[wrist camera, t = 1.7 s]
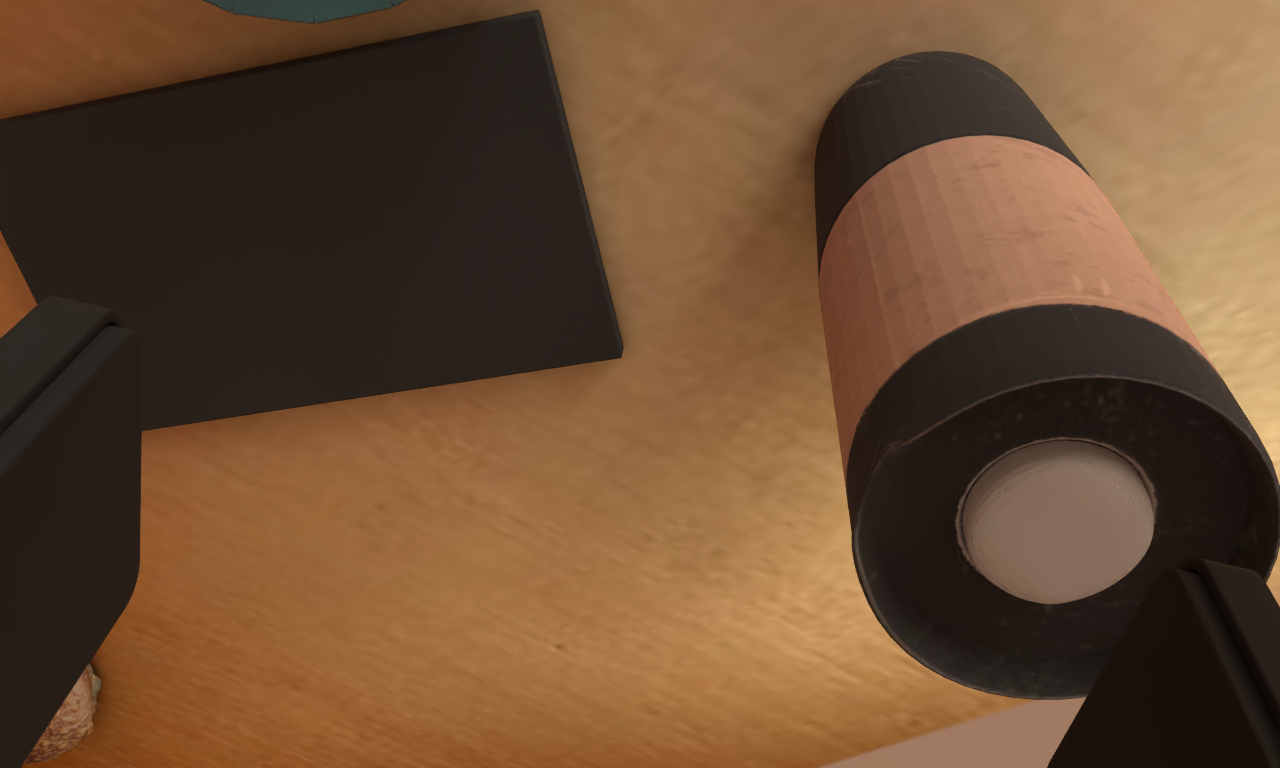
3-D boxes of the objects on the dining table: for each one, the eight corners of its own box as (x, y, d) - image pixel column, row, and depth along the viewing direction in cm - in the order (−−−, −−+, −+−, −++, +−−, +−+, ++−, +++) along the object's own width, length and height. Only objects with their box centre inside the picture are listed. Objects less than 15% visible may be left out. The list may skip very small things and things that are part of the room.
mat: (-37, 126, 41) (-50, 134, 40) (539, 8, 38) (535, 15, 37) (113, 426, 47) (104, 437, 46) (624, 347, 43) (622, 358, 43)
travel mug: (1087, 203, 39) (1350, 621, 22) (869, 306, 42) (955, 756, 25) (991, -8, 36) (1209, 288, 19) (762, 117, 39) (775, 479, 22)
